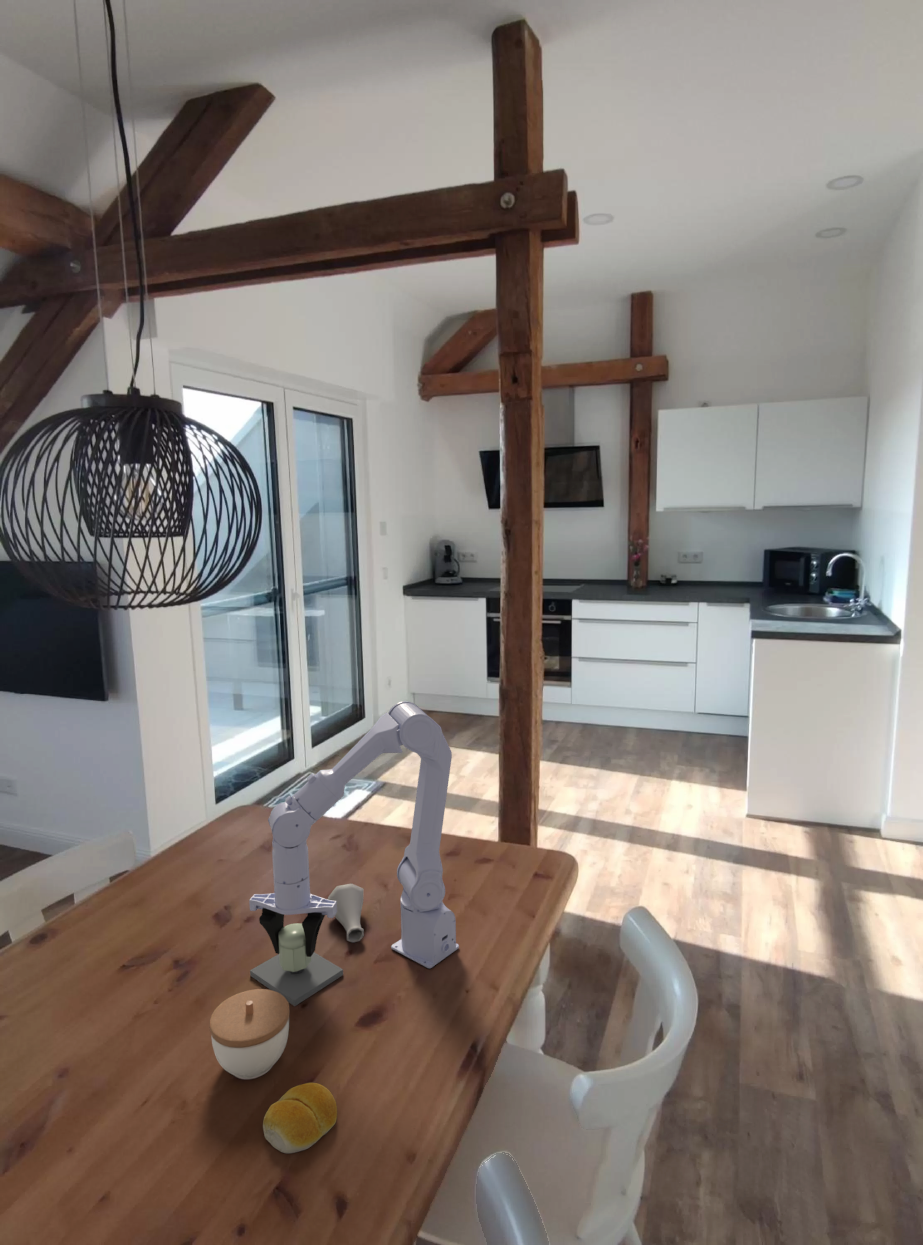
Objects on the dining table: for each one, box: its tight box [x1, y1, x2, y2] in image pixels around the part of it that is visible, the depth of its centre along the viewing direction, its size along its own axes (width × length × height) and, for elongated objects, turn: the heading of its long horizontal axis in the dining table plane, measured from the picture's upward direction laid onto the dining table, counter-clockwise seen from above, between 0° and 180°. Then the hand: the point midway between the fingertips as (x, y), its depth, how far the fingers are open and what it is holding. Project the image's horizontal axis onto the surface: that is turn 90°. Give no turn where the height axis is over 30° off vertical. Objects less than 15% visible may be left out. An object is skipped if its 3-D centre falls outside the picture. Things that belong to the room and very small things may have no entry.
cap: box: [278, 922, 311, 972], centre depth 120 cm, size 5×5×6 cm
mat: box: [249, 951, 344, 1007], centre depth 121 cm, size 12×10×1 cm
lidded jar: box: [209, 988, 290, 1081], centre depth 101 cm, size 11×11×9 cm
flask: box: [327, 883, 365, 944], centre depth 134 cm, size 7×7×10 cm
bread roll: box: [262, 1082, 338, 1154], centre depth 92 cm, size 8×9×4 cm
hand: (295, 951), depth 121 cm, fingers closed on cap, 5 cm apart
